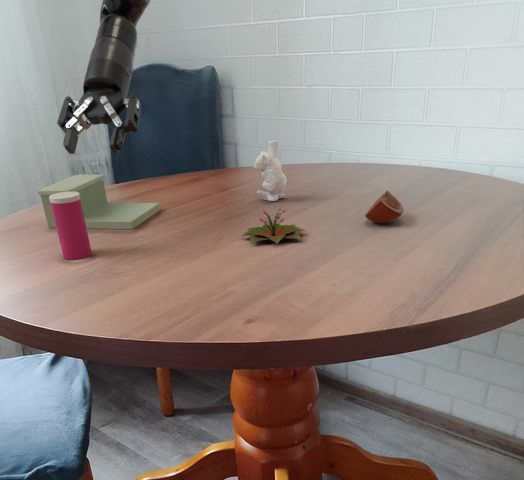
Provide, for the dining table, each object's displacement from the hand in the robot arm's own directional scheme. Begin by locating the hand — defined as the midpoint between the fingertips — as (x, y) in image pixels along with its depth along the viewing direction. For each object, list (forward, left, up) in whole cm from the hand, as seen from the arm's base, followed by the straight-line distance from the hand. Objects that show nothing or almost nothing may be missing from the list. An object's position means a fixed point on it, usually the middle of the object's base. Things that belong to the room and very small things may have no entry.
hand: (91, 150), depth 93 cm
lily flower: (+17, -26, -15) cm, 35 cm away
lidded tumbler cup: (-9, -5, -15) cm, 19 cm away
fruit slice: (+35, -37, -15) cm, 53 cm away
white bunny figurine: (+37, -8, -15) cm, 40 cm away
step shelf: (+7, +11, -15) cm, 19 cm away
